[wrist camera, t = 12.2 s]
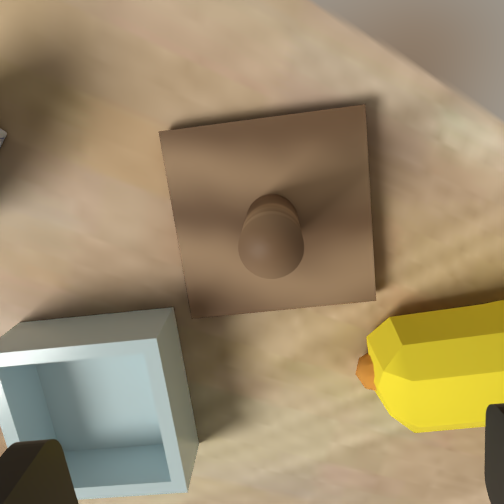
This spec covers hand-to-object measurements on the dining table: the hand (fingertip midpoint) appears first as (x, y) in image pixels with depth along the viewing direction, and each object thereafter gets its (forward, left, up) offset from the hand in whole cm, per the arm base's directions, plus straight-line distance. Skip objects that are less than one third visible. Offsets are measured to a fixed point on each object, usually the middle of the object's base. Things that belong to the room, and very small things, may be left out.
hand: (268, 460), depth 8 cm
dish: (+12, -14, -24) cm, 30 cm away
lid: (0, 0, -23) cm, 23 cm away
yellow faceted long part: (+11, +14, -24) cm, 30 cm away
